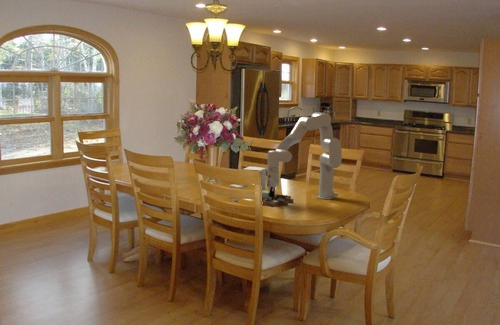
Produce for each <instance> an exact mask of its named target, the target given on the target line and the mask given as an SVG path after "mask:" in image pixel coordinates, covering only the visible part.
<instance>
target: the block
mask: <svg viewBox="0 0 500 325" xmlns="http://www.w3.org/2000/svg"><path fill="white" fill-rule="evenodd" d="M262 198H268V199H270V202H272V201H273V200H272V197H269V190H266V189H265V190H264V191H262Z"/></svg>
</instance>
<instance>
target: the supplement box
mask: <svg viewBox="0 0 500 325" xmlns="http://www.w3.org/2000/svg"><path fill="white" fill-rule="evenodd" d="M243 170H259V171H260V173H261V186H262V191H264V190H265V191H266V187H267V167H260V166H251V165H250V166H248V167H245V168H242V171H243ZM241 186H243V188H246V187H248V185H242V184H241Z"/></svg>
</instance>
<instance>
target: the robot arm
mask: <svg viewBox="0 0 500 325" xmlns="http://www.w3.org/2000/svg"><path fill="white" fill-rule="evenodd" d="M331 123H332V116H331V115H330V114H328V113H326V112H319V111H316V112H313V113H312V114H311V115H310V116H307V115H306V116H301V117H299V119H298V120H297V122H296V123H295V125H294V127H293V128H292V130H291V132H290V133H289V134H288V135H287V136H285V138H283V140H281V141H280V142H279V143H278V145H277V147H276V149H275V150H273V149H272V150H268V151H267V167H266V187H267V189H268V191H269V197H275V195H276V189H277V187H278V186H279V185H280V174H279V173H280V170H279V169H280V162H282V163H287V162H290V161H291V160H292V158H293V155H292V153H291V152H290V151H289V149H290V147H292V146H294V145H295V144H298V143H300V142H301V141H302V139H303V138H304V137H305V134H306V133H307V132H308V131H314V130H318V129H319V134H320V135H319V139H320V147H321V148H320V149H322V150H324V152H322V153H321V154H320V156H319V158H318V159H319V162H318V163H319V182H318V184H319V185H318V194H316V198H318V199H320V200H321V199H323V200H333V199H335V197H336V198H337V197H338V198H339V193H335V191H334V178H335V177H334V176H335V171H334V170H335V169H337V168H339V167H341V164H342V161H343V154H342V153H343V151H342V143H341V141H340V139H338V138H336V137H334V133H333V132H334V131H333V126H332V124H331Z"/></svg>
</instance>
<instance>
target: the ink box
mask: <svg viewBox="0 0 500 325" xmlns="http://www.w3.org/2000/svg"><path fill="white" fill-rule="evenodd" d="M229 188H240V189H243V186H242V185H238V184H229V185H228V189H229ZM229 198H230V197H229V196H228V199H229ZM230 199H231V200H233V201H235V202H238V201H239V199H236V198H230Z"/></svg>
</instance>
